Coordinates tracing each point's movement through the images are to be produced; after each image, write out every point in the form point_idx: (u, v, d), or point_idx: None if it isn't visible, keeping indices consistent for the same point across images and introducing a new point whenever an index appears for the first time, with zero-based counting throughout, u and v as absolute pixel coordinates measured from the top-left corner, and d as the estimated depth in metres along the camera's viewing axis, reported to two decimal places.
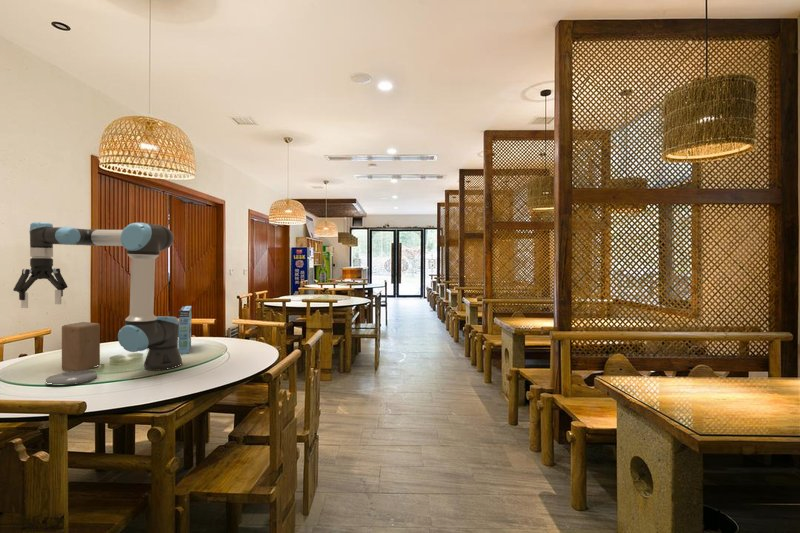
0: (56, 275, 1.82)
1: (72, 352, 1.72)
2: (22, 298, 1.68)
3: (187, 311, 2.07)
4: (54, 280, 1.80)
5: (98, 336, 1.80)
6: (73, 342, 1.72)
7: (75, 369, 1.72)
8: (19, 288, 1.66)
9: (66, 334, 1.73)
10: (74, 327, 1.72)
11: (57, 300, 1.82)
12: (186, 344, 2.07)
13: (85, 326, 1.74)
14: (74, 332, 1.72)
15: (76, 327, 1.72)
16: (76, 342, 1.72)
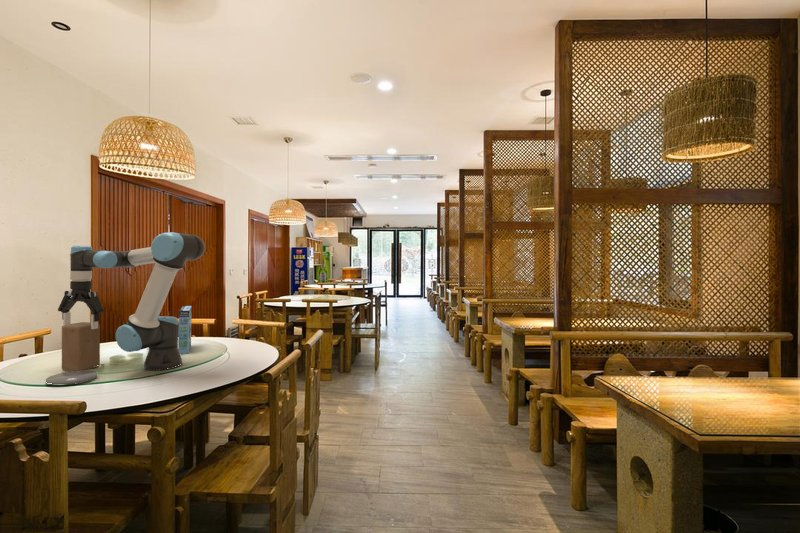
0: None
1: (72, 353, 1.72)
2: None
3: (187, 311, 2.07)
4: (87, 304, 1.75)
5: (98, 336, 1.80)
6: (73, 342, 1.72)
7: (75, 369, 1.72)
8: (59, 308, 1.77)
9: (66, 334, 1.73)
10: (74, 327, 1.72)
11: None
12: (186, 344, 2.07)
13: (85, 326, 1.74)
14: (74, 332, 1.72)
15: (76, 327, 1.72)
16: (76, 342, 1.72)
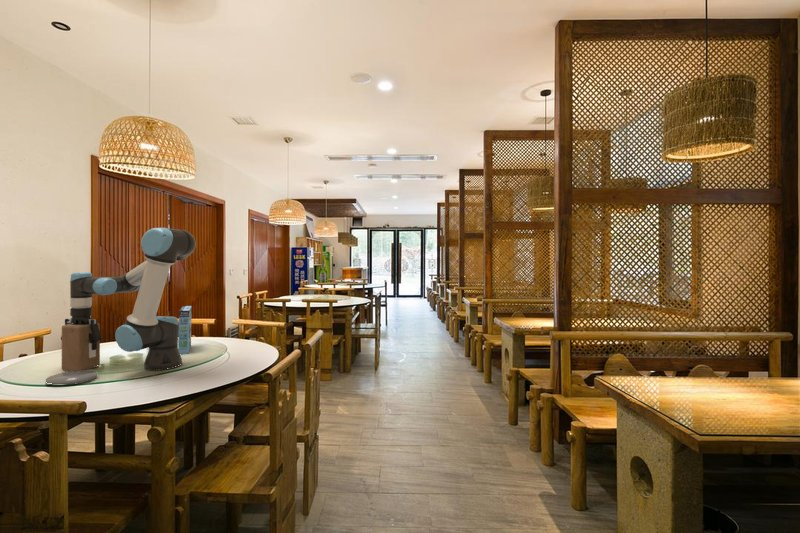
0: None
1: (72, 352, 1.72)
2: None
3: (187, 311, 2.07)
4: None
5: None
6: (73, 342, 1.72)
7: (75, 369, 1.72)
8: (61, 337, 1.77)
9: (66, 334, 1.73)
10: (74, 327, 1.72)
11: None
12: (186, 344, 2.07)
13: (85, 326, 1.74)
14: (74, 332, 1.72)
15: (76, 327, 1.72)
16: (76, 342, 1.72)
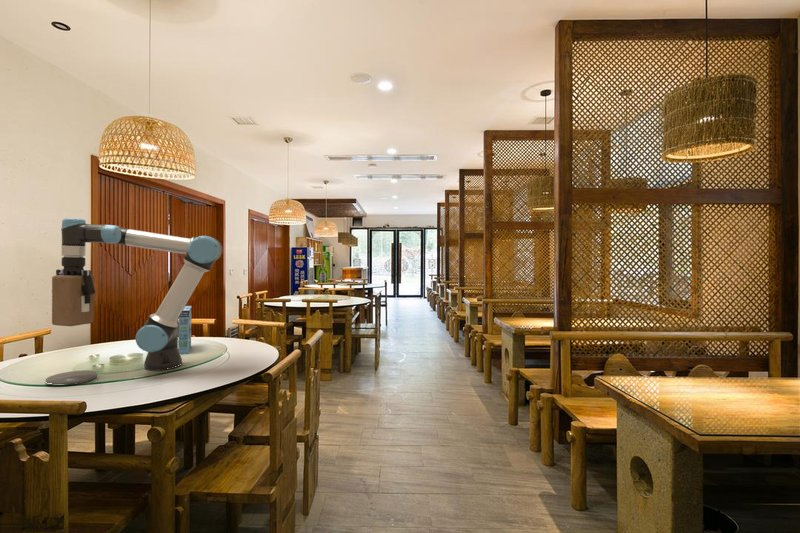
0: None
1: (63, 305, 1.57)
2: None
3: (187, 311, 2.07)
4: None
5: None
6: (64, 293, 1.57)
7: (66, 323, 1.57)
8: None
9: (56, 285, 1.58)
10: (65, 277, 1.57)
11: None
12: (186, 344, 2.07)
13: (77, 277, 1.59)
14: (65, 282, 1.57)
15: (67, 277, 1.57)
16: (67, 294, 1.56)
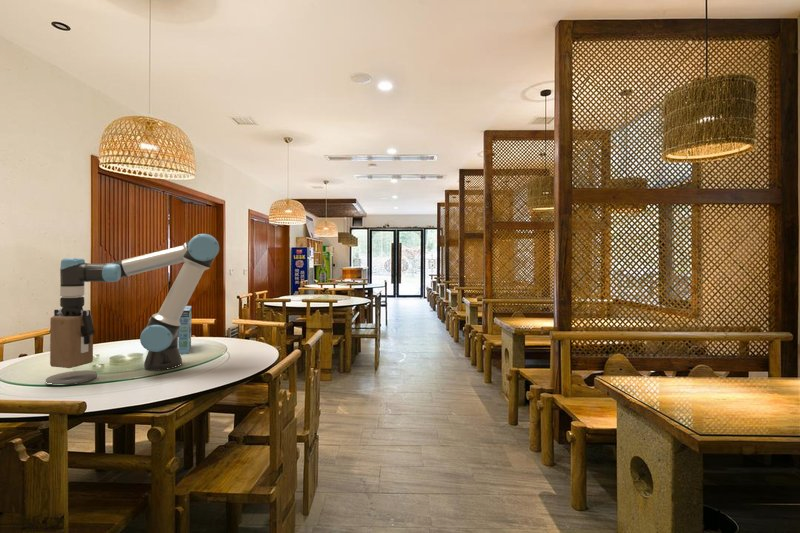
0: None
1: (62, 347, 1.55)
2: None
3: (187, 311, 2.07)
4: None
5: None
6: (63, 335, 1.55)
7: (65, 365, 1.55)
8: None
9: (55, 326, 1.55)
10: (64, 318, 1.55)
11: None
12: (186, 344, 2.07)
13: (76, 318, 1.57)
14: (64, 324, 1.55)
15: (66, 318, 1.55)
16: (66, 335, 1.54)
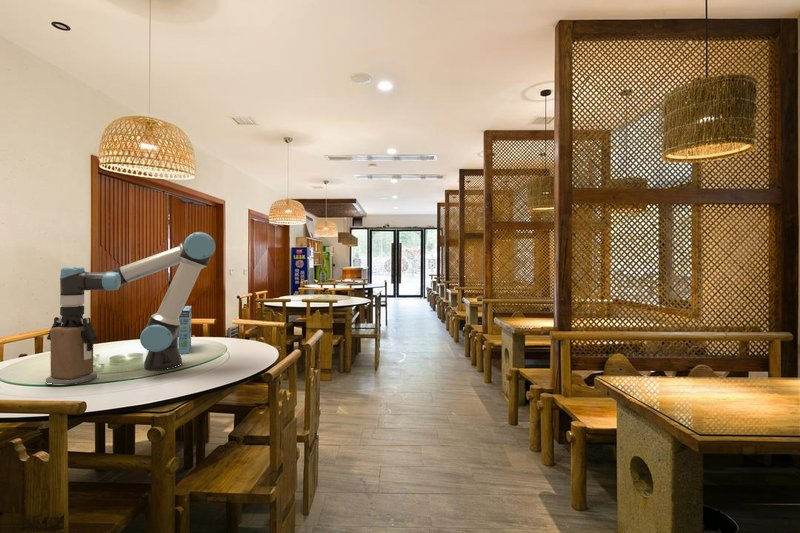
0: None
1: (63, 358, 1.55)
2: None
3: (187, 311, 2.07)
4: None
5: None
6: (64, 347, 1.55)
7: (66, 377, 1.55)
8: (48, 336, 1.60)
9: (55, 338, 1.55)
10: (64, 330, 1.55)
11: None
12: (186, 344, 2.07)
13: (77, 329, 1.57)
14: (65, 335, 1.55)
15: (67, 330, 1.55)
16: (67, 347, 1.55)
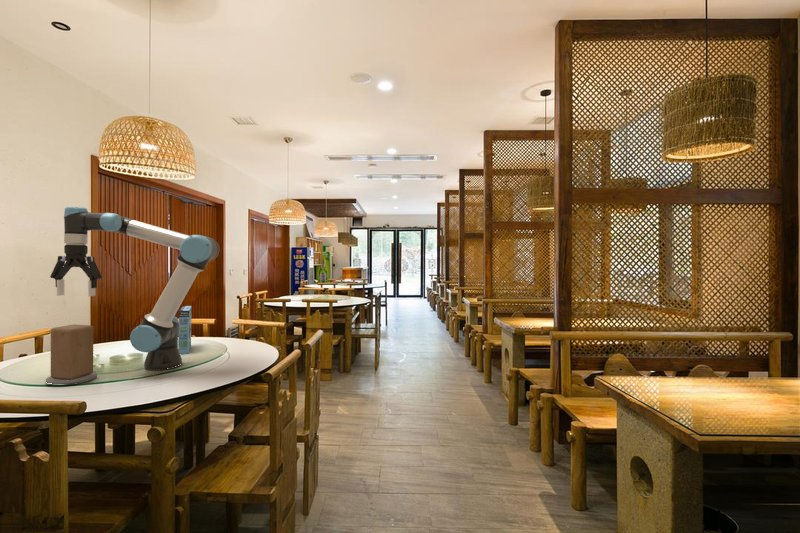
0: None
1: (63, 358, 1.55)
2: (56, 285, 1.65)
3: (187, 311, 2.07)
4: (83, 269, 1.64)
5: (91, 340, 1.63)
6: (64, 347, 1.55)
7: (66, 377, 1.55)
8: (51, 275, 1.65)
9: (55, 338, 1.56)
10: (64, 330, 1.55)
11: None
12: (186, 344, 2.07)
13: (77, 329, 1.57)
14: (65, 335, 1.55)
15: (67, 330, 1.55)
16: (67, 347, 1.55)
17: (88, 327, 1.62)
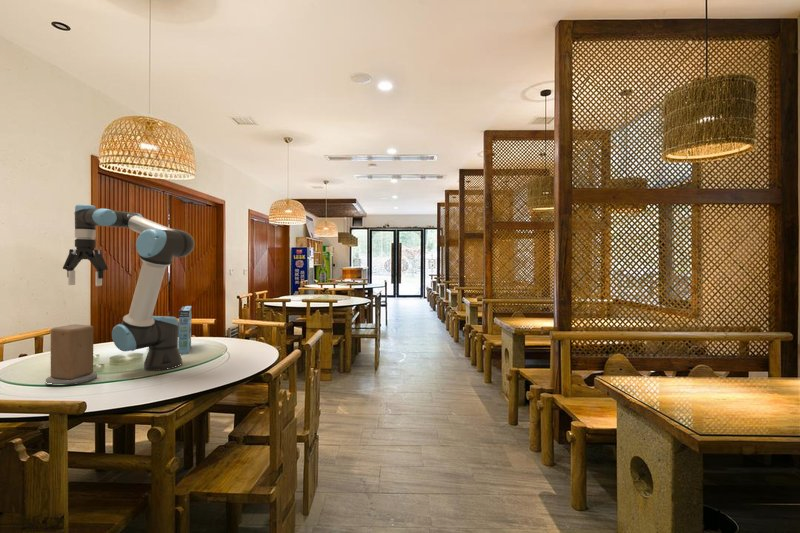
0: None
1: (63, 358, 1.55)
2: None
3: (187, 311, 2.07)
4: (91, 261, 1.80)
5: (91, 340, 1.63)
6: (64, 347, 1.55)
7: (66, 377, 1.55)
8: (64, 266, 1.82)
9: (55, 338, 1.56)
10: (64, 330, 1.55)
11: None
12: (186, 344, 2.07)
13: (77, 329, 1.57)
14: (65, 335, 1.55)
15: (67, 330, 1.55)
16: (67, 347, 1.55)
17: (88, 327, 1.62)
